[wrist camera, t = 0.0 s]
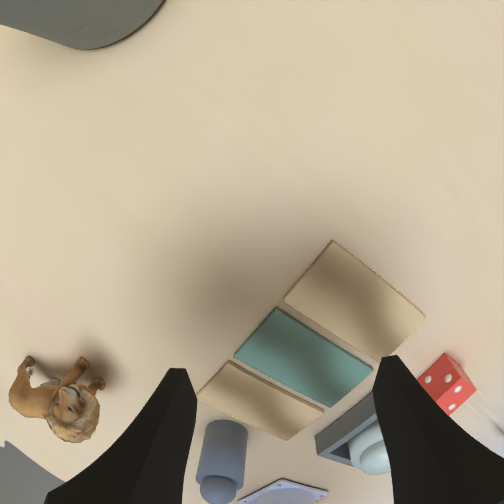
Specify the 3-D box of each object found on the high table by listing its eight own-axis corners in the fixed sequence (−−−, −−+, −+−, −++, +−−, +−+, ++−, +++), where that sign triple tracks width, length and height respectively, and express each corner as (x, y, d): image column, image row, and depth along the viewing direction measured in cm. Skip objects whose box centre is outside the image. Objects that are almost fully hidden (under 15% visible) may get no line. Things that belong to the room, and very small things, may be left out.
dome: (374, 455, 26) (381, 482, 22) (333, 441, 25) (338, 472, 22) (420, 421, 24) (432, 448, 21) (383, 402, 23) (395, 434, 20)
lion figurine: (106, 338, 24) (55, 411, 15) (136, 385, 25) (100, 461, 17) (17, 356, 26) (-27, 404, 17) (42, 393, 27) (5, 444, 19)
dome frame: (370, 456, 28) (374, 472, 25) (314, 436, 26) (317, 454, 24) (432, 410, 25) (439, 426, 23) (382, 382, 24) (390, 400, 21)
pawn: (232, 448, 27) (224, 515, 20) (198, 432, 27) (183, 501, 19) (255, 431, 26) (251, 504, 18) (219, 414, 26) (206, 489, 18)
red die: (435, 391, 24) (448, 416, 21) (416, 379, 24) (430, 406, 20) (461, 366, 23) (477, 390, 20) (444, 352, 23) (461, 377, 19)
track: (286, 437, 26) (286, 440, 26) (196, 394, 25) (195, 397, 25) (424, 314, 21) (426, 317, 21) (332, 239, 20) (333, 241, 19)
